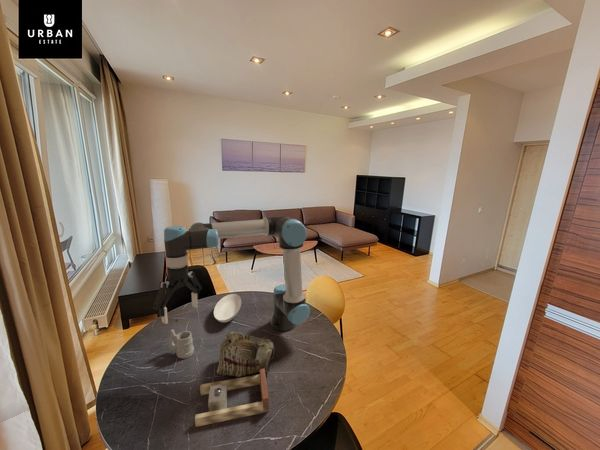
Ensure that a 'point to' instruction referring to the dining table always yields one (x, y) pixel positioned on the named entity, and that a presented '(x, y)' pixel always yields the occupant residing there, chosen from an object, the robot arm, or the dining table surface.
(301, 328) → the dining table surface
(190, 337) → the mug
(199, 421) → the channel
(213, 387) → the block
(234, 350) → the sculptural head
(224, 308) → the bowl
